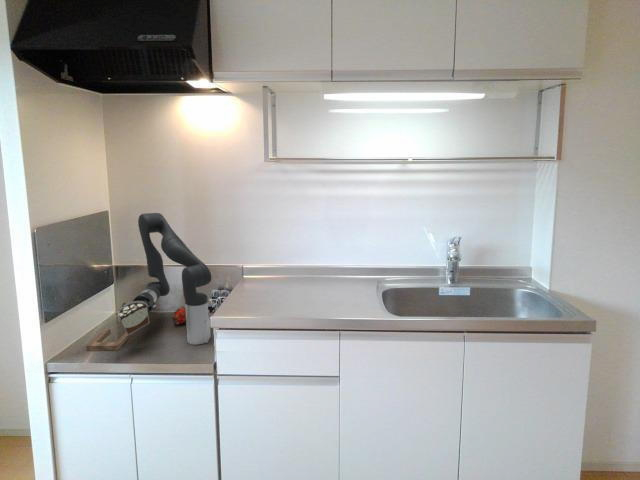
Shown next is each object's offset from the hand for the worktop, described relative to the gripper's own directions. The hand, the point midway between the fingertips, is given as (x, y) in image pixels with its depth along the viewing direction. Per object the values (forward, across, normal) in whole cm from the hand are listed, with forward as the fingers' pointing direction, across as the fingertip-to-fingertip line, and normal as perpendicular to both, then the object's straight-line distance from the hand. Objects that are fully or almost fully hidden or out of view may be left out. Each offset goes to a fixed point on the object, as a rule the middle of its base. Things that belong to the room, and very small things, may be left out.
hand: (130, 313), depth 177 cm
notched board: (-10, -13, +16) cm, 23 cm away
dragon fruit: (-30, +12, +16) cm, 36 cm away
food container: (-3, 0, +6) cm, 7 cm away
